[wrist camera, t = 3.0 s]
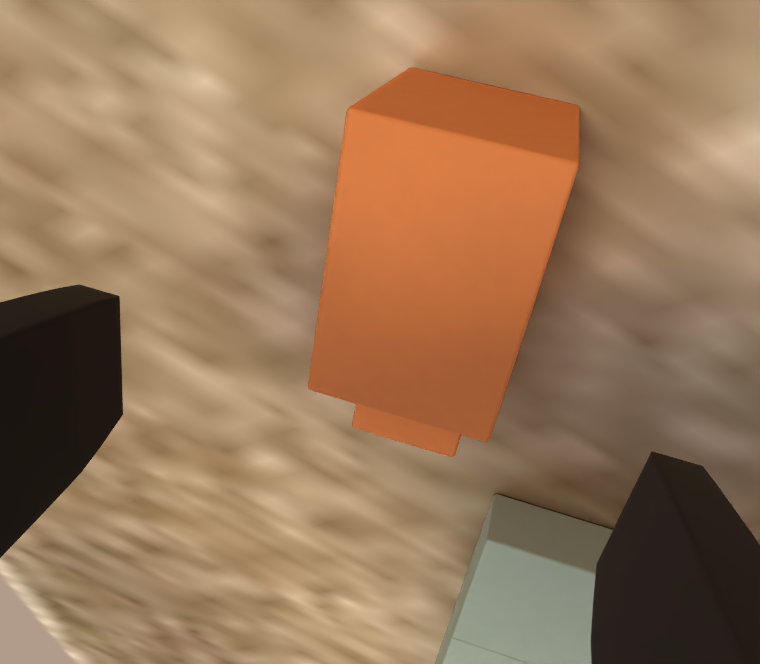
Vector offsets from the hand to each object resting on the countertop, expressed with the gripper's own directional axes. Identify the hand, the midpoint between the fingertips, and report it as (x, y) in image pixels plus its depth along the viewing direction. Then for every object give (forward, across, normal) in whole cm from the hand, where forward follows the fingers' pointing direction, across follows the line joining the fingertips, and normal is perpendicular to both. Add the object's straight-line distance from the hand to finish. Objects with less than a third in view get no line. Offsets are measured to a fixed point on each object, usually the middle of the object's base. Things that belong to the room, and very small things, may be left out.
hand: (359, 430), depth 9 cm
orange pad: (+9, 0, +2) cm, 10 cm away
